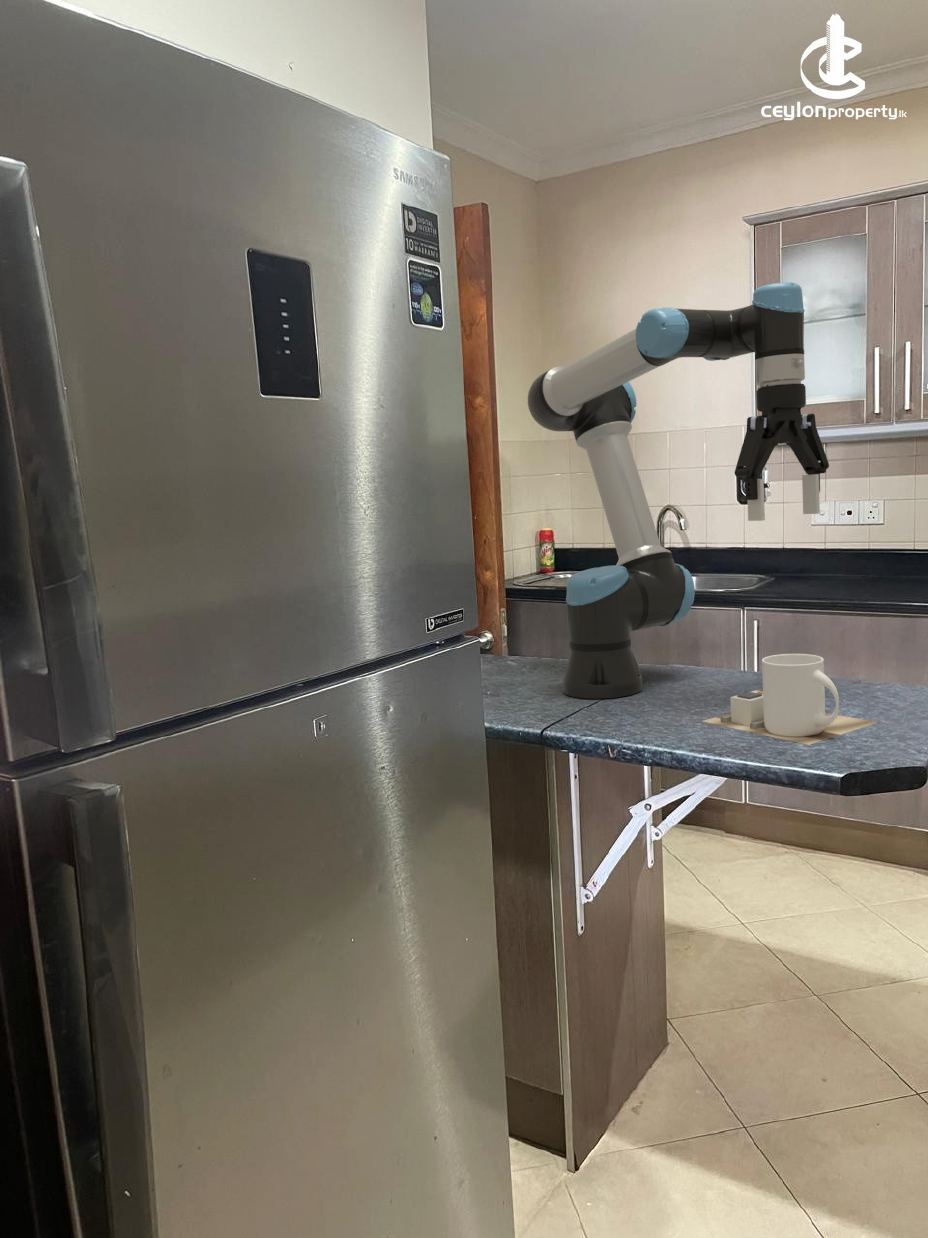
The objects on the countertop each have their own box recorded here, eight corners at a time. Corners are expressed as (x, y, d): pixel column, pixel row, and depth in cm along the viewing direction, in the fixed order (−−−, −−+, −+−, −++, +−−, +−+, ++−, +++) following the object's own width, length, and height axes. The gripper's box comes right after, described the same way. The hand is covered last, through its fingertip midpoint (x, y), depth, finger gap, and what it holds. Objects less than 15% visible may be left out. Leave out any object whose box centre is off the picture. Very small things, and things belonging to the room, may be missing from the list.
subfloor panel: (701, 728, 148) (701, 716, 148) (769, 709, 156) (769, 697, 156) (808, 753, 131) (808, 739, 131) (878, 730, 139) (877, 717, 139)
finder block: (731, 722, 146) (730, 695, 145) (757, 714, 149) (756, 688, 148) (751, 726, 142) (750, 699, 142) (777, 718, 145) (777, 691, 145)
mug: (818, 746, 130) (816, 670, 129) (751, 730, 140) (749, 660, 139) (858, 733, 134) (857, 660, 133) (790, 719, 145) (788, 651, 143)
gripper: (745, 381, 141) (750, 523, 143) (849, 380, 154) (852, 510, 156) (708, 388, 147) (713, 523, 150) (811, 387, 160) (814, 511, 163)
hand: (784, 517), depth 153 cm, fingers open, 13 cm apart
